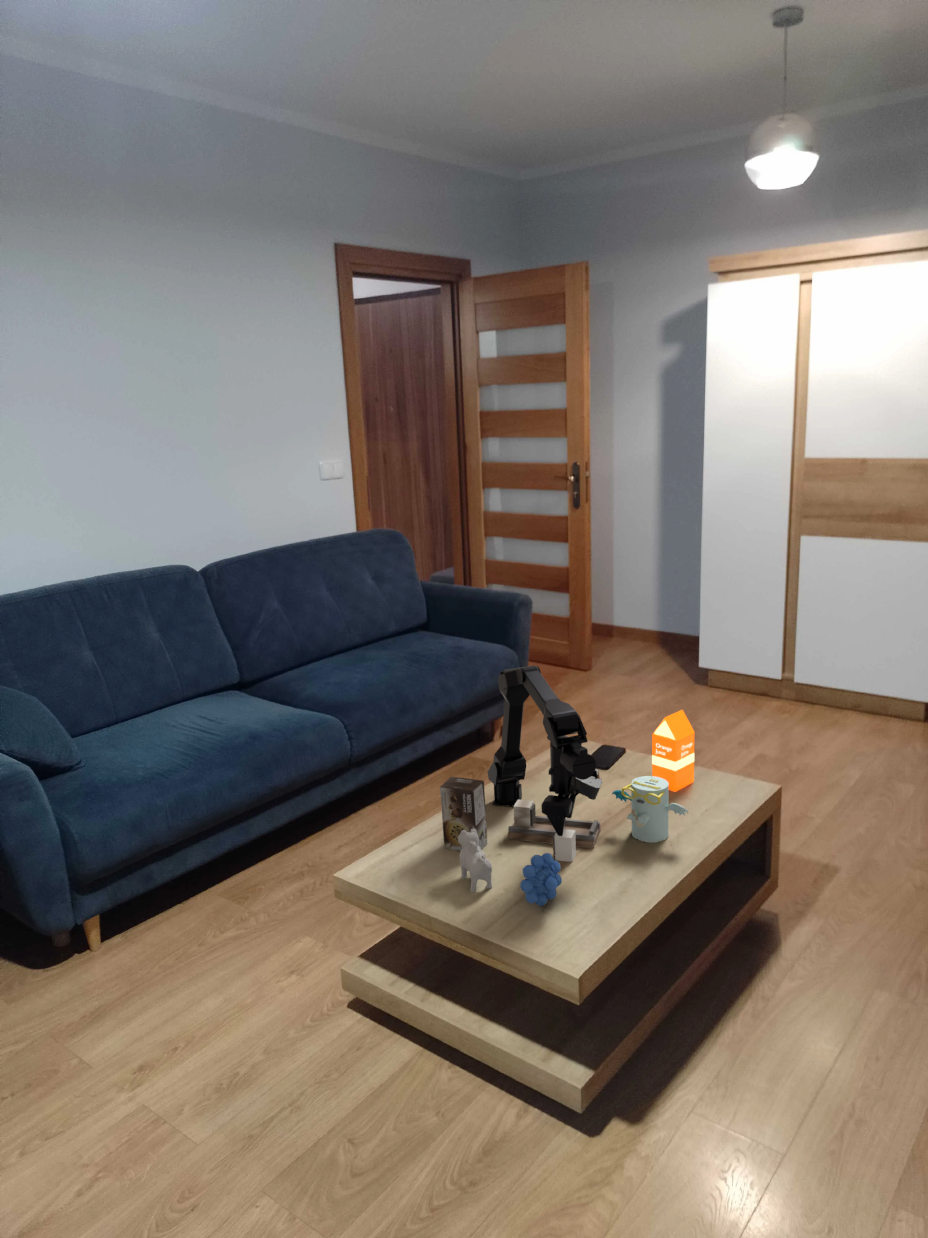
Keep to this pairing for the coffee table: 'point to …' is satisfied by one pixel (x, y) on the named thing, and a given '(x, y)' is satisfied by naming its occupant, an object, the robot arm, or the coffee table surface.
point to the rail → (548, 827)
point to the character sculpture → (649, 807)
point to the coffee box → (463, 810)
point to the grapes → (541, 879)
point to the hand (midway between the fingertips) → (564, 826)
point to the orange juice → (674, 751)
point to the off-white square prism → (565, 846)
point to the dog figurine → (474, 859)
